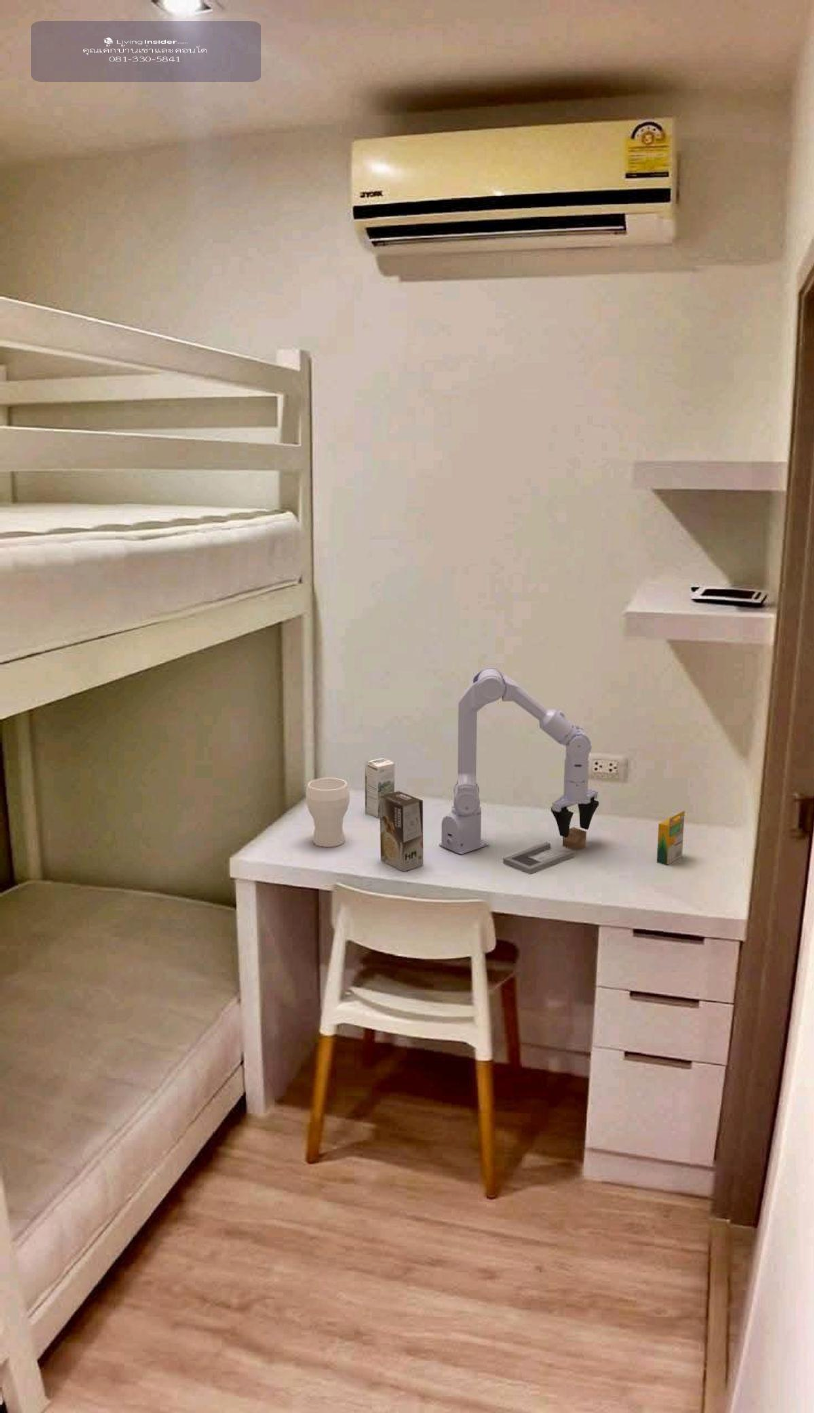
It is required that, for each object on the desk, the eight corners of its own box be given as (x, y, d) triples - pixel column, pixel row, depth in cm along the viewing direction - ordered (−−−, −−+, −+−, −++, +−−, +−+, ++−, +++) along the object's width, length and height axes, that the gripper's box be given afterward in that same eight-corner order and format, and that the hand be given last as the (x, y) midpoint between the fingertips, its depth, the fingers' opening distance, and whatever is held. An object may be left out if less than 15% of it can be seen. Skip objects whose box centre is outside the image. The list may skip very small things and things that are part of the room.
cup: (306, 849, 243) (304, 791, 240) (308, 833, 254) (307, 777, 250) (349, 849, 244) (348, 790, 240) (350, 833, 254) (349, 776, 250)
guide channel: (529, 874, 229) (529, 869, 229) (503, 862, 235) (503, 858, 235) (573, 856, 239) (573, 852, 238) (546, 846, 245) (546, 842, 245)
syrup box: (381, 808, 272) (381, 756, 268) (395, 813, 267) (394, 761, 264) (364, 812, 268) (364, 760, 265) (378, 818, 264) (377, 766, 260)
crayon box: (671, 853, 241) (674, 807, 238) (682, 856, 239) (685, 810, 236) (655, 862, 236) (658, 815, 233) (667, 865, 234) (670, 818, 231)
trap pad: (532, 868, 232) (532, 867, 232) (516, 862, 236) (516, 860, 236) (543, 864, 235) (543, 862, 234) (528, 857, 238) (528, 856, 238)
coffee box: (424, 865, 234) (424, 800, 230) (403, 872, 230) (403, 806, 226) (399, 853, 241) (399, 790, 237) (378, 860, 237) (378, 796, 233)
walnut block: (574, 851, 242) (575, 835, 241) (562, 846, 245) (562, 830, 244) (585, 846, 245) (586, 831, 244) (573, 842, 248) (573, 827, 247)
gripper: (569, 789, 233) (567, 844, 236) (608, 776, 242) (606, 829, 246) (546, 782, 238) (544, 836, 242) (585, 769, 247) (583, 821, 251)
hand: (574, 832), depth 244 cm, fingers open, 7 cm apart
